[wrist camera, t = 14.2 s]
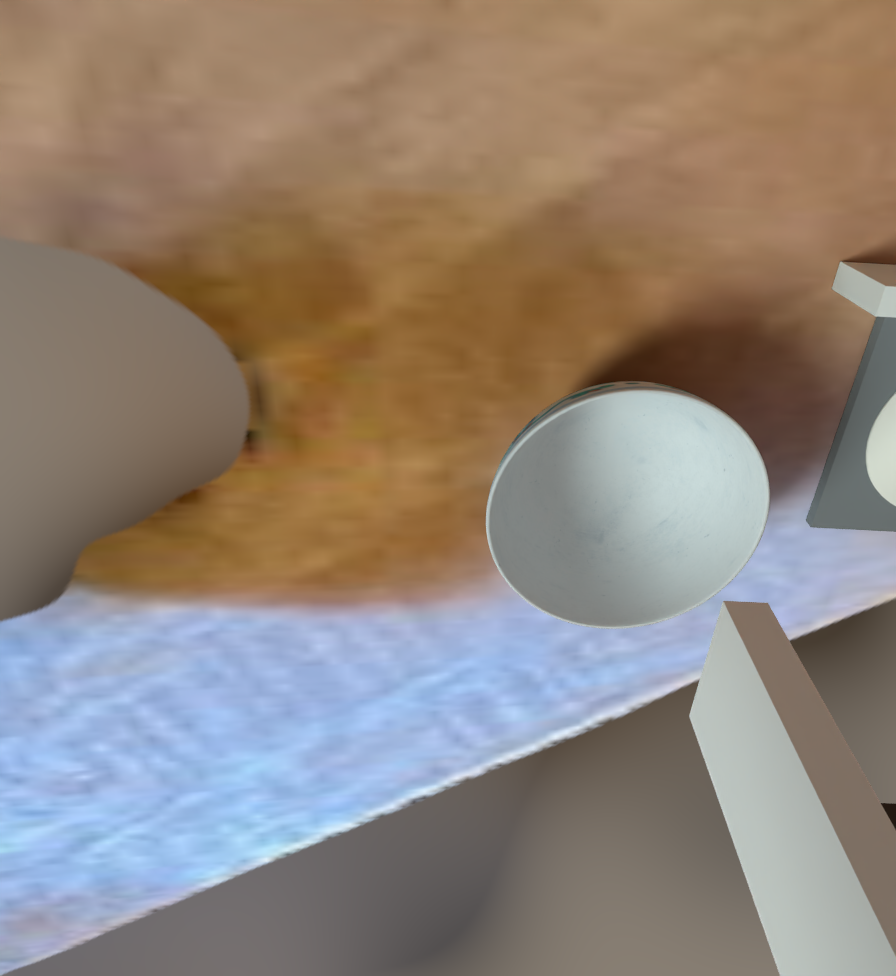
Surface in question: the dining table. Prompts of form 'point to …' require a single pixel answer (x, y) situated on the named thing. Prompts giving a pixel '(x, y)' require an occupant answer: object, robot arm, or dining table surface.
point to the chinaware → (626, 505)
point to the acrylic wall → (868, 286)
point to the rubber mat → (864, 446)
